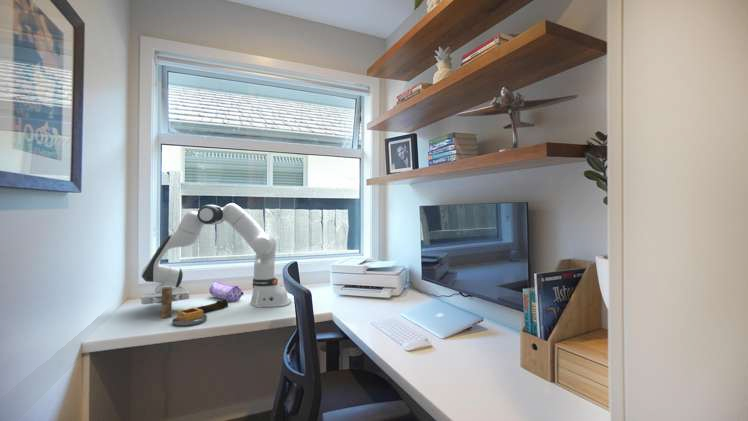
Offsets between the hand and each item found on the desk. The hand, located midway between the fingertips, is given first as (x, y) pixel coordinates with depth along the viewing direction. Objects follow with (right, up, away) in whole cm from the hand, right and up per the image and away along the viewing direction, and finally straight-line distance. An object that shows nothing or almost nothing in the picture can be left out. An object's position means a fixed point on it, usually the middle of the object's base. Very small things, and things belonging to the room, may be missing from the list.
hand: (166, 300), depth 158 cm
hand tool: (+15, -9, +12) cm, 21 cm away
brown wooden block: (-1, -8, +1) cm, 8 cm away
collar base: (+15, -8, -6) cm, 18 cm away
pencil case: (+12, -9, +35) cm, 38 cm away
